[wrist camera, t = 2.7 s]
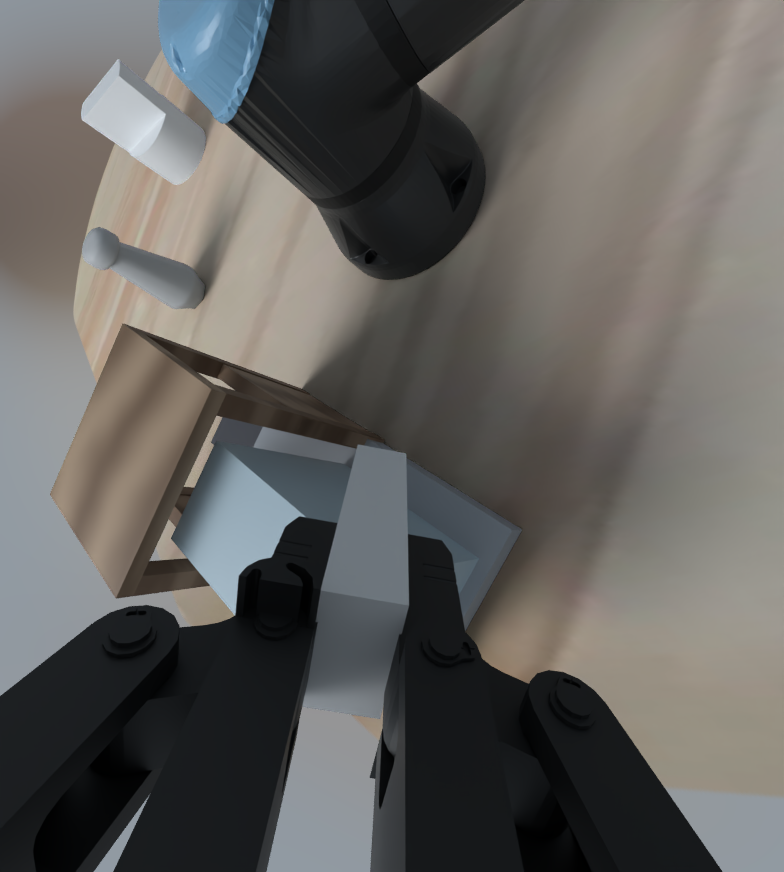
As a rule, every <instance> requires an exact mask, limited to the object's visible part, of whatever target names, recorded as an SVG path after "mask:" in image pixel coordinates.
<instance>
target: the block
mask: <svg viewBox="0 0 784 872" xmlns="http://www.w3.org/2000/svg"><path fill="white" fill-rule="evenodd" d="M350 473H351V468H349V467H348V466H346V465H345V464H342V463H336V462H331V461H325V460H320V459H314V458H309V457H303V456H298V455H292V454H287V453H281V452H276V451H270V450H265V449H259V448H254V447H248V446H243V445H237V444H232V443H226V442H221V441H216V443H215V445H214V447H213V449H212V451H211V453H210V455H209V458H208V460H207V462H206V464H205V466H204V468H203V471H202V473H201V475H200V477H199V479H198V481H197V483H196V486H195V488H194V490H193V492H192V494H191V496H190V499H189V501H188V503H187V505H186V507H185V509H184V511H183V514H182V516H181V518H180V520H179V522H178V524H177V527H176V529H175V531H174V533H173V535H172V537H171V539H172V540H173V542H174V543H175V544H176V545H177V546H178V548H179V549H180V550H181V551H182V552H183V554H184V555H185V556H186V557H187V558H188V560H189V561H190V562H191V563H192V564H193V566H194V567H195V568H196V569H197V570H198V572H199V573H200V574H201V575H202V576H203V578H204V579H205V580H206V581H207V582H208V584H209V585H210V586H211V587H212V588H213V590H214V591H215V592H216V593H217V594H218V596H219V597H220V598H221V599H222V600H223V602H224V603H225V604H226V605H227V606H228V608H229V609H230V610H231V611H232V612H233V614H234V615H235V613H236V602H237V590H238V578H239V575H240V574H241V572H242V571H243V570H244V569H245V568H246V567H247V566H248V565H250V564H252V563H254V562H256V561H258V560H261V559H266V558H271V557H272V555H273V554H274V551H275V548H276V546H277V544H278V543H279V540H280V537H281V535H282V533H283V531H284V529H285V526H287V525H288V524H289V523H291V522H292V521H293V520H295V519H296V518H298V517H299V516H301V517H306V518H312V519H318V520H323V521H329V522H335V523H338V520H339V516H340V512H341V508H342V504H343V501H344V497H345V493H346V489H347V485H348V481H349V477H350ZM407 522H408V534H410V535H416V536H422V537H427V538H433V539H439V540H442V541H443V543H444V544H445V545H446V547H447V548H448V549H449V551H450V552H451V553H452V557H453V563H454V572H455V575H456V581H457V582H456V584H457V586H458V592H459V595H460V593H461V591H462V589H463V587H464V586H465V584H466V582H467V580H468V578H469V576H470V575H471V573H472V571H473V569H474V567H475V566H476V564H477V562H478V560H479V558H478V557H476V556H475V555H474V554H472V553H471V552H469V551H468V550H466V549H465V548H464V547H462V546H461V545H459V544H458V543H456V542H455V541H454V540H452V539H451V538H449V537H448V536H446V535H445V534H444V533H442V532H441V531H439V530H438V529H436V528H435V527H434V526H432V525H431V524H429V523H428V522H426V521H425V520H424V519H422V518H421V517H419V516H418V515H416V514H415V513H414V512H412V511H411V510H409V509H408V508H407Z"/></svg>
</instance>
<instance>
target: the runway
mask: <svg viewBox="0 0 784 872" xmlns="http://www.w3.org/2000/svg"><path fill="white" fill-rule="evenodd" d="M364 446H369V447H375V448H380V449H385V450H391V451H395V450H393V449H392V448H390V447H388V446H387V445H385V444H384V443H380V442H377V441H373V440H370V439H367V441H366V443H365V445H364ZM254 448H259V449H265V450H270V451H276V452H281V453H287V454H292V455H298V456H303V457H309V458H314V459H320V460H325V461H331V462H336V463H342V464H345V465H346V466H348V467H349V468H351V469H352V465H353V461H354V457H355V453H356V450H357V449H355V448H351V447H347V446H342V445H338V444H334V443H330V442H326V441H321V440H317V439H313V438H309V437H305V436H300V435H296V434H292V433H288V432H284V431H279V430H275V429H271V428H267V427H263V428H262V430H261V432H260V434H259V436H258V438H257V440H256V442H255V445H254ZM406 467H407V508H408V509H409V510H411V511H412V512H414V513H415V514H416V515H418V516H419V517H421V518H422V519H424V520H425V521H426V522H428V523H429V524H431V525H432V526H434V527H435V528H436V529H438V530H439V531H441V532H442V533H444V534H445V535H446V536H448V537H449V538H451V539H452V540H454V541H455V542H456V543H458V544H459V545H461V546H462V547H464V548H465V549H466V550H468V551H469V552H471V553H472V554H474V555H475V556H476V557H478V558H479V560H478V562H477V564H476V566H475V567H474V569H473V571H472V573H471V575H470V576H469V578H468V580H467V582H466V584H465V586H464V587H463V589H462V591H461V593H460V595H459V598H460V604H461V610H462V616H463V621H464V627H465V631H466V629H467V627H468V626H469V624H470V622H471V620H472V619H473V617H474V615H475V613H476V611H477V610H478V608H479V606H480V604H481V602H482V601H483V599H484V597H485V595H486V594H487V592H488V590H489V588H490V586H491V585H492V583H493V581H494V579H495V577H496V576H497V574H498V572H499V570H500V569H501V567H502V565H503V563H504V561H505V560H506V558H507V556H508V554H509V553H510V551H511V549H512V547H513V545H514V544H515V542H516V540H517V538H518V536H519V535H520V533H521V531H522V529H521V528H519V527H517V526H516V525H514V524H512V523H511V522H509V521H508V520H506V519H504V518H503V517H501V516H500V515H498V514H496V513H495V512H493V511H491V510H490V509H488V508H487V507H485V506H483V505H482V504H480V503H479V502H477V501H475V500H474V499H472V498H471V497H469V496H467V495H466V494H464V493H462V492H461V491H459V490H458V489H456V488H454V487H453V486H451V485H450V484H448V483H446V482H445V481H443V480H442V479H440V478H438V477H437V476H435V475H433V474H432V473H430V472H429V471H427V470H425V469H424V468H422V467H421V466H419V465H417V464H416V463H414V462H413V461H411V460H409V459H408V458H406Z"/></svg>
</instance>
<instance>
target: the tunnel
mask: <svg viewBox="0 0 784 872" xmlns="http://www.w3.org/2000/svg"><path fill="white" fill-rule="evenodd" d="M197 372H198V373H197ZM199 373H202V374H205V375H208V376H211V377H214V378H217V379H220V380H222V381H223V382H225V383H226V384H227V385H229V386H230V387H232V388H233V389H234V390H236V391H234V390H231V389H227V388H224V387H221V386H217V385H214V384H213V383H211V382H210V381H208V380H207V379H206V378H204V377H203V376H202V375H200V374H199ZM216 416H220V417H225V418H229V419H233V420H237V421H242V422H246V423H250V424H254V425H258V426H263V427H267V428H271V429H275V430H279V431H284V432H288V433H292V434H296V435H300V436H305V437H309V438H313V439H317V440H321V441H326V442H330V443H334V444H338V445H342V446H347V447H351V448H355V449H357V446H358V445H365V443H366V441H367V439H370V440H373V441H377V442H380V443H384V441H385V440H384V439H382V438H381V437H379V436H378V435H376V434H374V433H372V432H369V431H367V430H366V429H364V428H362V427H361V426H359V425H358V424H356V423H354V422H353V421H351V420H349V419H348V418H346V417H345V416H343V415H341V414H340V413H338V412H337V411H335V410H333V409H332V408H330V407H328V406H327V405H325V404H324V403H322V402H320V401H319V400H317V399H315V398H314V397H312V396H311V395H310V394H309V393H307V392H306V391H304V390H303V389H301V388H298V387H295V386H292V385H290V384H287V383H284V382H282V381H279V380H276V379H273V378H271V377H268V376H265V375H262V374H260V373H257V372H254V371H252V370H249V369H246V368H243V367H241V366H238V365H235V364H232V363H230V362H227V361H224V360H221V359H219V358H216V357H213V356H211V355H208V354H205V353H202V352H200V351H197V350H194V349H191V348H189V347H186V346H183V345H180V344H178V343H175V342H172V341H170V340H167V339H164V338H161V337H159V336H156V335H153V334H150V333H148V332H145V331H142V330H140V329H137V328H134V327H131V326H129V325H126V324H122V326H121V329H120V331H119V333H118V336H117V338H116V340H115V343H114V345H113V347H112V350H111V352H110V354H109V357H108V359H107V361H106V364H105V366H104V368H103V371H102V373H101V376H100V378H99V380H98V383H97V385H96V387H95V390H94V392H93V394H92V397H91V399H90V402H89V404H88V406H87V409H86V411H85V413H84V416H83V418H82V421H81V423H80V425H79V427H78V430H77V432H76V434H75V437H74V439H73V441H72V444H71V446H70V449H69V451H68V453H67V455H66V458H65V460H64V463H63V465H62V467H61V470H60V472H59V474H58V477H57V479H56V481H55V484H54V486H53V488H52V491H51V493H50V495H51V497H52V499H53V500H54V502H55V503H56V505H57V506H58V508H59V510H60V511H61V513H62V514H63V516H64V518H65V519H66V521H67V522H68V524H69V525H70V527H71V528H72V530H73V532H74V533H75V535H76V536H77V538H78V540H79V541H80V543H81V544H82V546H83V547H84V549H85V551H86V552H87V554H88V555H89V557H90V559H91V560H92V562H93V563H94V565H95V566H96V568H97V569H98V571H99V573H100V574H101V576H102V577H103V579H104V581H105V582H106V584H107V585H108V587H109V588H110V590H111V591H112V593H113V595H114V596H115V598H122V597H130V596H137V595H145V594H152V593H159V592H167V591H174V590H181V589H189V588H196V587H203V586H210V585H209V584H208V582H207V581H206V580H205V579H204V578H203V576H202V575H201V574H200V573H199V572H198V570H197V569H196V568H195V567H194V566H193V564H192V563H191V562H190V561H189V560H188V558H187V559H174V560H160V561H149V560H150V558H151V556H152V554H153V552H154V549H155V547H156V545H157V543H158V541H159V539H160V537H161V534H162V532H163V530H164V528H165V526H166V524H167V521H168V519H169V520H170V521H171V522H172V523H173V524H174V526H175V527H177V524H178V522H179V520H180V518H181V516H182V514H183V511H184V509H185V507H186V505H187V503H188V501H189V499H190V496H191V494H192V492H193V490H194V488H191V487H184V485H185V482H186V480H187V478H188V476H189V474H190V472H191V469H192V467H193V465H194V463H195V461H196V459H197V456H198V454H199V452H200V450H201V448H202V446H203V443H204V441H205V439H206V437H207V435H208V433H209V430H210V428H211V426H212V424H213V422H214V420H215V417H216Z"/></svg>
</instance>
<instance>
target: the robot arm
mask: <svg viewBox="0 0 784 872" xmlns="http://www.w3.org/2000/svg"><path fill="white" fill-rule="evenodd" d="M523 1H524V0H160V1H159V14H158V27H159V36H160V42H161V46H162V50H163V53H164V55H165V58H166V60H167V62H168V64H169V66H170V67H171V69H172V71H173V72H174V73H175V74H176V76H177V77H178V78H179V79H180V80H181V81H182V82H183V83H184V84H185V85H186V86H187V87H188V88H189V89H190V90H191V91H192V92H193V93H194V94H195V95H196V96H197V98H198V99H199V100H200V101H201V102H202V103H203V104H204V105H205V106H206V107H207V108H208V109H209V110H210V111H211V113H212V115H213V116H214V117H215V119H217V120H218V121H219V122H220V123H222V124H223V123H224V124H226V125H227V126H228V127H229V128H230V129H231V130H232V131H233V132H235V133H236V134H237V135H238V136H239V137H240V138H241V139H242V140H244V141H245V142H246V143H247V144H248V145H249V146H250V147H251V148H253V149H254V150H255V151H256V152H257V153H258V154H259V155H260V156H262V157H263V158H264V159H265V160H266V161H267V162H268V163H269V164H271V165H272V166H273V167H274V168H275V169H276V170H277V171H278V172H280V173H281V174H282V175H283V176H284V177H285V178H286V179H287V180H289V181H290V182H291V183H292V184H293V185H294V186H295V187H296V188H298V189H299V190H300V191H301V192H302V193H303V194H305V195H306V196H307V197H308V198H309V199H310V200H311V201H312V202H313V203H314V204H316V206H317V208H318V210H319V212H320V213H321V215H322V217H323V219H324V221H325V223H326V225H327V227H328V228H329V230H330V232H331V234H332V236H333V238H334V240H335V242H336V243H337V245H338V247H339V249H340V250H341V252H342V253H343V254H344V256H345V257H346V258H347V259H348V260H349V261H350V262H352V263H353V264H354V265H355V266H356V267H358V268H359V269H360V270H361V271H363V272H364V273H366V274H367V275H369V276H372V277H374V278H378V279H385V280H393V279H401V278H405V277H409V276H412V275H414V274H417V273H419V272H421V271H423V270H425V269H427V268H429V267H430V266H432V265H433V264H435V263H436V262H438V261H439V260H440V259H441V258H443V257H444V256H445V255H446V254H447V253H448V252H449V251H450V250H451V249H452V248H453V247H454V246H455V245H456V244H457V243H458V242H459V240H460V239H461V238H462V237H463V235H464V234H465V232H466V231H467V229H468V228H469V226H470V225H471V223H472V221H473V219H474V217H475V215H476V213H477V211H478V208H479V206H480V203H481V200H482V196H483V192H484V186H485V165H484V160H483V157H482V154H481V151H480V149H479V147H478V145H477V143H476V141H475V139H474V138H473V136H472V134H471V132H470V130H469V129H468V128H467V126H466V125H465V124H464V123H463V122H462V121H461V120H460V119H459V118H458V117H456V116H455V115H454V114H452V113H451V112H450V111H449V110H447V109H446V108H445V107H443V106H442V105H441V104H439V103H438V102H437V101H436V100H434V99H433V98H432V97H430V96H429V95H428V94H427V93H425V92H424V91H423V90H421V89H420V88H419V86H418V85H417V83H418V82H419V81H420V80H422V79H423V78H424V77H425V76H427V75H428V74H429V73H431V72H432V71H434V70H435V69H436V68H437V67H439V66H440V65H441V64H443V63H444V62H445V61H447V60H448V59H449V58H450V57H452V56H453V55H454V54H456V53H457V52H458V51H460V50H461V49H462V48H463V47H465V46H466V45H467V44H469V43H470V42H471V41H473V40H474V39H475V38H476V37H478V36H479V35H480V34H482V33H483V32H484V31H486V30H487V29H488V28H489V27H491V26H492V25H493V24H495V23H496V22H497V21H498V20H500V19H501V18H502V17H504V16H505V15H506V14H508V13H509V12H510V11H511V10H513V9H514V8H515V7H517V6H518V5H519V4H521V3H522V2H523ZM456 582H457V581H456V575H455V572H454V563H453V557H452V553H451V552H450V551H449V549H448V548H447V547H446V545H445V544H444V543H443V541H442V540H439V539H433V538H427V537H422V536H416V535H410V534H408V522H407V467H406V453H401V452H396V451H391V450H385V449H380V448H375V447H369V446H364V445H358V446H357V450H356V453H355V457H354V461H353V465H352V469H351V473H350V477H349V481H348V485H347V489H346V493H345V497H344V501H343V504H342V508H341V512H340V516H339V520H338V523H335V522H329V521H323V520H318V519H312V518H306V517H301V516H299V517H298V518H296V519H295V520H293V521H292V522H291V523H289V524H288V525H287V526H285V529H284V531H283V533H282V535H281V537H280V540H279V543H278V544H277V546H276V548H275V551H274V554H273V555H272V557H271V558H266V559H261V560H258V561H256V562H254V563H252V564H250V565H248V566H247V567H246V568H245V569H244V570H243V571H242V572H241V574H240V575H239V578H238V590H237V602H236V613H235V616H234V617H232V618H230V619H228V620H225V621H222V622H219V623H215V624H209V625H202V626H191V627H182V628H179V624H178V622H177V620H176V618H175V616H174V615H172V614H171V613H169V612H168V611H166V610H164V609H163V608H159V607H153V606H149V605H144V606H132V607H126V608H124V609H120V610H117V611H114V612H111V613H109V614H107V615H106V616H104V617H102V618H101V619H99V620H97V621H96V622H94V623H93V624H91V625H90V626H89V627H87V628H86V629H85V630H84V631H82V632H81V633H80V634H79V635H77V636H76V637H75V638H74V639H72V640H71V641H70V642H68V643H67V644H66V645H65V646H63V647H62V648H61V649H60V650H58V651H57V652H56V653H55V654H53V655H52V656H51V657H49V658H48V659H47V660H46V661H45V662H43V663H42V664H41V665H39V666H38V667H37V668H35V669H34V670H33V671H32V672H31V673H29V674H28V675H27V676H25V677H24V678H23V679H22V680H20V681H19V682H18V683H16V684H15V685H14V686H13V687H11V688H10V689H9V690H8V691H6V692H5V693H4V694H2V695H1V696H0V872H93V871H94V870H95V869H96V868H97V866H98V865H99V863H100V862H101V861H102V859H103V858H104V857H105V855H106V854H107V852H108V851H109V850H110V848H111V847H112V846H113V844H114V843H115V841H116V840H117V839H118V837H119V836H120V835H121V833H122V832H123V830H124V829H125V828H126V826H127V825H128V823H129V822H130V821H131V819H132V818H133V817H134V815H135V814H136V812H137V811H138V810H139V808H140V807H141V806H142V804H143V803H144V801H145V800H146V799H147V797H148V796H149V795H150V796H149V798H148V800H147V802H146V804H145V806H144V808H143V811H142V813H141V815H140V817H139V819H138V821H137V823H136V825H135V827H134V829H133V831H132V834H131V836H130V838H129V840H128V842H127V844H126V846H125V848H124V850H123V852H122V855H121V857H120V859H119V861H118V863H117V865H116V867H115V869H114V871H113V872H266V871H267V866H268V862H269V857H270V852H271V848H272V844H273V839H274V835H275V830H276V826H277V821H278V817H279V813H280V808H281V803H282V798H283V795H284V790H285V786H286V781H287V777H288V772H289V768H290V763H291V759H292V754H293V750H294V746H295V741H296V736H297V730H298V724H299V718H300V714H301V709H302V707H307V708H314V709H320V710H327V711H333V712H339V713H345V714H351V715H358V716H364V717H370V718H377V719H380V717H381V713H382V709H383V729H382V733H381V736H380V740H379V744H378V748H377V752H376V756H375V759H374V763H373V767H372V771H371V775H370V778H374V779H375V798H374V815H373V833H372V834H373V835H372V851H371V852H372V853H371V868H370V869H371V870H370V872H722V870H721V869H720V867H719V866H718V865H717V863H716V862H715V860H714V859H713V857H712V856H711V854H710V853H709V852H708V850H707V849H706V847H705V846H704V844H703V843H702V842H701V840H700V839H699V837H698V836H697V834H696V833H695V831H694V830H693V829H692V827H691V826H690V824H689V823H688V821H687V820H686V818H685V817H684V815H683V814H682V813H681V811H680V810H679V808H678V807H677V805H676V804H675V802H674V801H673V800H672V798H671V797H670V795H669V794H668V792H667V791H666V789H665V788H664V787H663V785H662V784H661V782H660V781H659V779H658V778H657V776H656V775H655V774H654V772H653V771H652V769H651V768H650V766H649V765H648V763H647V762H646V761H645V759H644V758H643V756H642V755H641V753H640V752H639V750H638V749H637V748H636V746H635V745H634V743H633V742H632V740H631V739H630V737H629V736H628V735H627V733H626V732H625V730H624V729H623V727H622V726H621V724H620V723H619V722H618V720H617V719H616V717H615V716H614V714H613V713H612V711H611V710H610V709H609V707H608V706H607V704H606V703H605V702H604V701H603V700H602V698H601V697H600V696H599V695H598V694H597V693H596V692H595V691H594V690H593V689H592V688H591V687H589V686H588V685H587V684H585V683H584V682H582V681H581V680H580V679H578V678H576V677H573V676H571V675H569V674H566V673H564V672H558V671H551V670H548V671H544V672H541V673H537V674H536V675H535V677H534V678H533V679H532V680H531V681H530V683H529V684H528V683H525V682H523V681H521V680H519V679H517V678H514V677H512V676H510V675H508V674H505V673H503V672H501V671H499V670H498V669H496V668H494V667H492V666H491V665H489V664H488V663H487V662H485V661H484V660H483V659H482V657H481V654H480V652H479V650H478V647H477V645H476V643H475V642H474V641H473V640H472V639H471V638H470V637H469V636H468V634H467V633H465V627H464V621H463V616H462V610H461V604H460V598H459V592H458V586H457V584H456ZM383 705H384V708H383ZM150 793H151V794H150Z"/></svg>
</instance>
